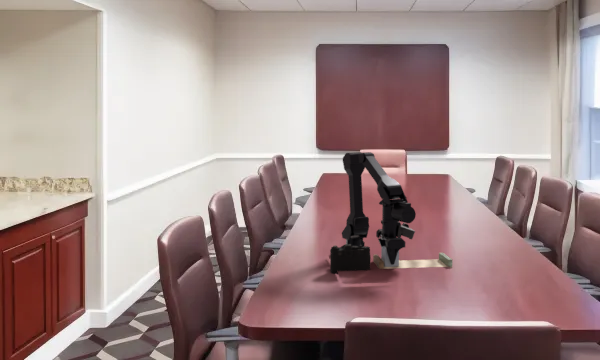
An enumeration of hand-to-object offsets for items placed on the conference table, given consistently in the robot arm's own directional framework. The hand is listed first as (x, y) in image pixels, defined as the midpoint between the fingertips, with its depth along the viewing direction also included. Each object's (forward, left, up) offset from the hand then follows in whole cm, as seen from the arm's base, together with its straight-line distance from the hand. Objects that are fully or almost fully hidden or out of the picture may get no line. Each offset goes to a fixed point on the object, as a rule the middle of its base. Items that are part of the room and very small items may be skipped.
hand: (390, 261), depth 198 cm
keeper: (0, 0, -1) cm, 1 cm away
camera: (-15, -2, -2) cm, 15 cm away
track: (+8, 0, -2) cm, 8 cm away
